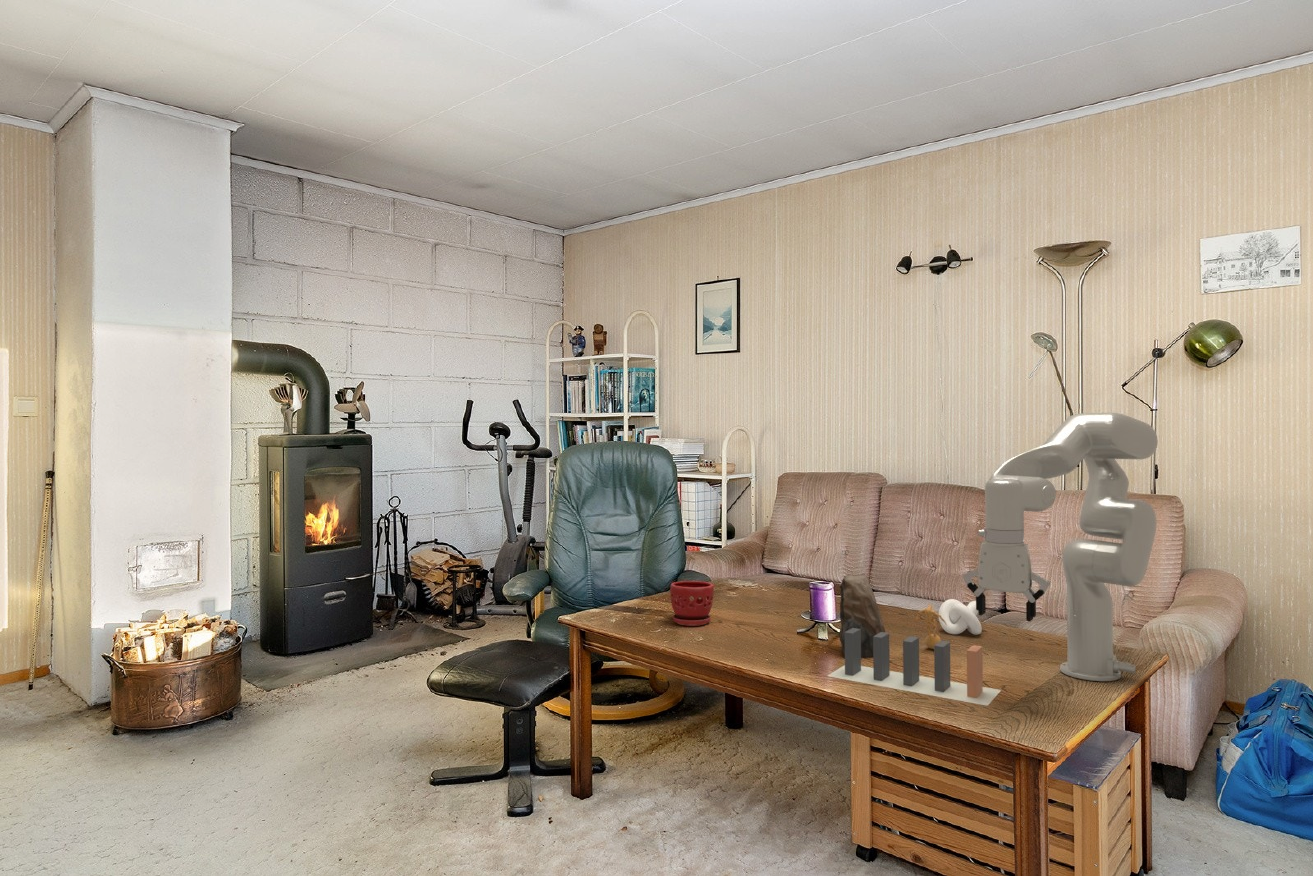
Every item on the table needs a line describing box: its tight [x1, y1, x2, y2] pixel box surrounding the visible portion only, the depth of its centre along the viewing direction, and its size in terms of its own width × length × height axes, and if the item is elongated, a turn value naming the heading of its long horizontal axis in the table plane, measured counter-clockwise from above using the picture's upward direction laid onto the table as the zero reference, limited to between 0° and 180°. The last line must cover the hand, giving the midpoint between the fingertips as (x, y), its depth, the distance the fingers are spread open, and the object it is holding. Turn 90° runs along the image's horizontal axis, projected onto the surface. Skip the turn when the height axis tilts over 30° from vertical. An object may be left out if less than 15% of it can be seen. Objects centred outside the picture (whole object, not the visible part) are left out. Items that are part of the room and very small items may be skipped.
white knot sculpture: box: [938, 598, 983, 636], centre depth 228 cm, size 11×12×9 cm
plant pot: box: [669, 580, 715, 627], centre depth 244 cm, size 13×13×12 cm
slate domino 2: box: [872, 631, 891, 681], centre depth 187 cm, size 2×5×10 cm, turn 144°
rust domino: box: [966, 644, 984, 698], centre depth 175 cm, size 2×5×10 cm, turn 144°
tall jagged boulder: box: [838, 572, 891, 659], centre depth 209 cm, size 13×13×20 cm
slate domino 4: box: [933, 640, 951, 692], centre depth 179 cm, size 2×5×10 cm, turn 144°
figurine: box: [915, 604, 947, 650], centre depth 211 cm, size 8×6×12 cm
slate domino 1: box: [844, 628, 862, 676], centre depth 191 cm, size 2×5×10 cm, turn 144°
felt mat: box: [827, 664, 1002, 707], centre depth 183 cm, size 36×12×1 cm, turn 54°
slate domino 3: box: [902, 635, 920, 686], centre depth 183 cm, size 2×5×10 cm, turn 144°
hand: (1005, 617), depth 171 cm, fingers open, 9 cm apart
